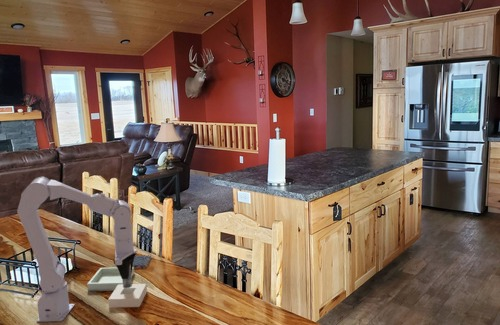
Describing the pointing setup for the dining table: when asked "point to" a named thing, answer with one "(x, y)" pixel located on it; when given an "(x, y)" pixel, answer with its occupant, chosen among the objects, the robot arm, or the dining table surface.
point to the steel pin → (128, 280)
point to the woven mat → (141, 261)
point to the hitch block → (128, 296)
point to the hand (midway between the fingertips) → (126, 276)
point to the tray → (106, 279)
